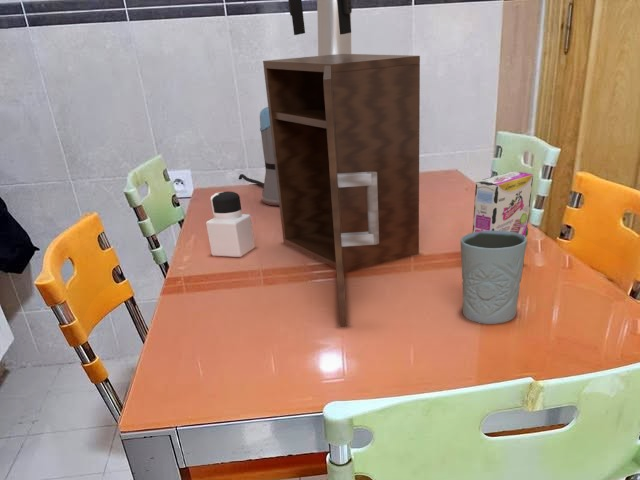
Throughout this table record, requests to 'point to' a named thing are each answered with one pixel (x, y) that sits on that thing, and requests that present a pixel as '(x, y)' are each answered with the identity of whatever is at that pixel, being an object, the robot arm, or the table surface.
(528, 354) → the table surface
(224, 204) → the medicine bottle
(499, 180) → the food carton
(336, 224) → the cupboard door
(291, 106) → the cupboard
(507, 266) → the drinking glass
